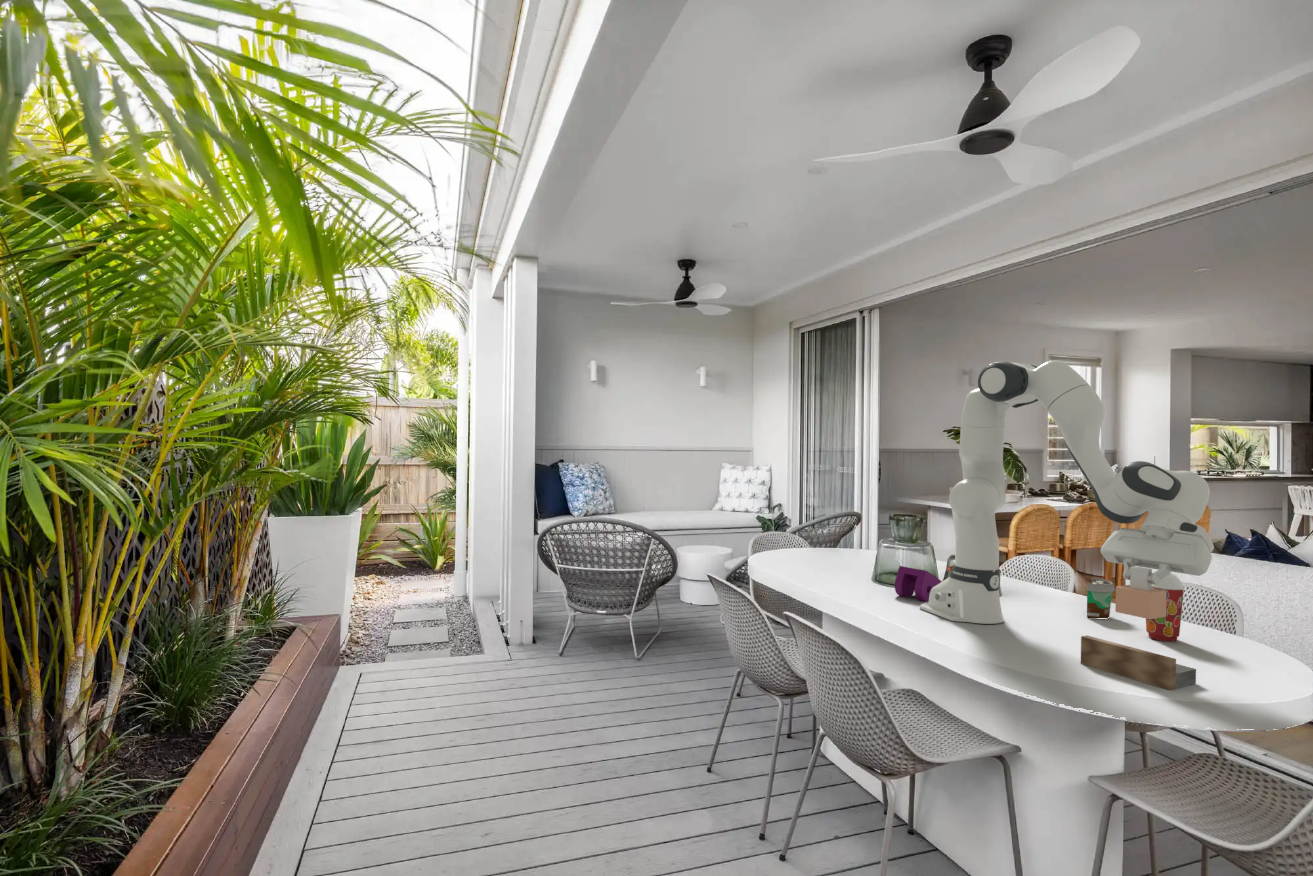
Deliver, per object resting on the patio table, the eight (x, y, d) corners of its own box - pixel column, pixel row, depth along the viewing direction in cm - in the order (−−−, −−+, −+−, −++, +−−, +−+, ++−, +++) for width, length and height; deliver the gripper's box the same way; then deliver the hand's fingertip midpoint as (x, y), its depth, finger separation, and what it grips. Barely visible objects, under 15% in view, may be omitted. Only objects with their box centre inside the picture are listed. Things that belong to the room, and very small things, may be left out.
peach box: (1115, 611, 153) (1115, 566, 153) (1131, 609, 155) (1131, 564, 156) (1150, 619, 147) (1150, 571, 147) (1166, 616, 149) (1166, 569, 149)
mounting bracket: (921, 609, 228) (891, 591, 218) (928, 585, 230) (899, 565, 220) (948, 615, 220) (919, 597, 210) (955, 590, 222) (926, 570, 213)
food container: (1112, 623, 192) (1113, 586, 192) (1086, 619, 196) (1087, 583, 196) (1115, 614, 202) (1116, 580, 202) (1090, 611, 206) (1091, 577, 206)
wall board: (1080, 663, 156) (1081, 636, 156) (1106, 658, 160) (1106, 631, 160) (1169, 690, 140) (1170, 660, 140) (1195, 683, 144) (1196, 654, 144)
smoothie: (1181, 638, 178) (1183, 559, 178) (1184, 645, 171) (1185, 564, 171) (1142, 632, 183) (1144, 556, 183) (1142, 639, 176) (1144, 560, 176)
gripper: (1110, 518, 163) (1084, 562, 159) (1212, 528, 145) (1186, 579, 141) (1121, 536, 165) (1096, 580, 161) (1223, 548, 147) (1197, 599, 143)
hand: (1139, 580), depth 151 cm, fingers closed on peach box, 3 cm apart
